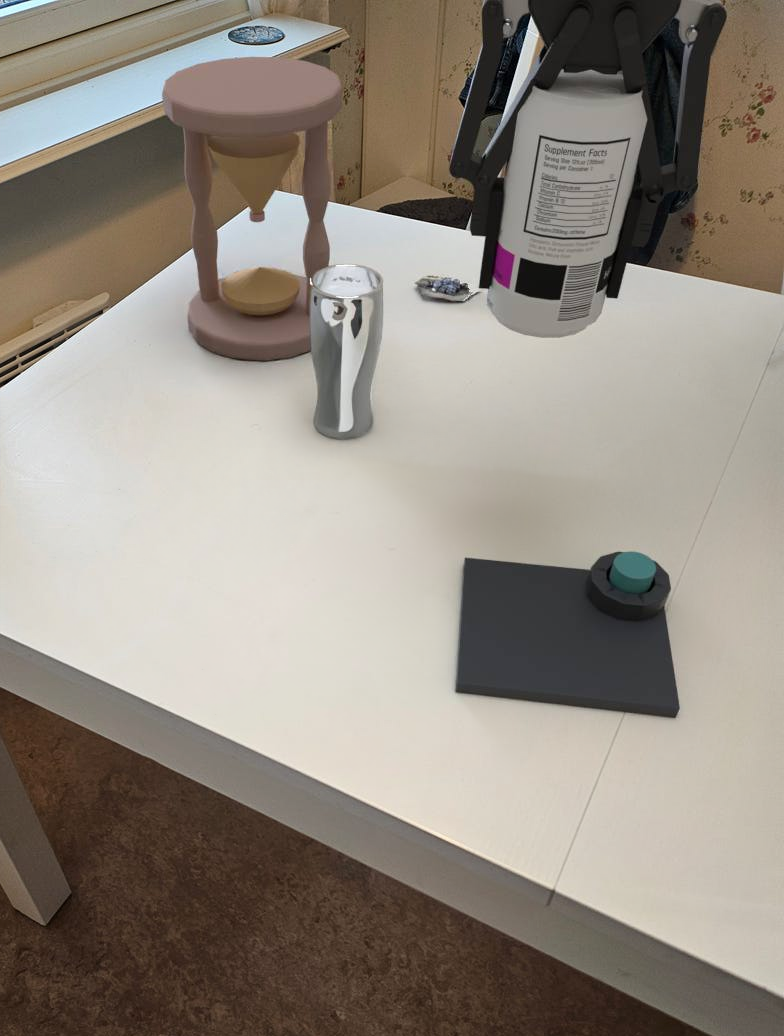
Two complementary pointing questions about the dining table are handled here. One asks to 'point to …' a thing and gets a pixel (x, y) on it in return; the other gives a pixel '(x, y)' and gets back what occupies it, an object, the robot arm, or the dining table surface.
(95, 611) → the dining table surface
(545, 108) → the supplement can
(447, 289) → the blueberries
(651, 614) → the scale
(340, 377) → the beer glass
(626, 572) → the tare button
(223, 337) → the hourglass
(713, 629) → the dining table surface
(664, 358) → the dining table surface
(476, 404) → the dining table surface
